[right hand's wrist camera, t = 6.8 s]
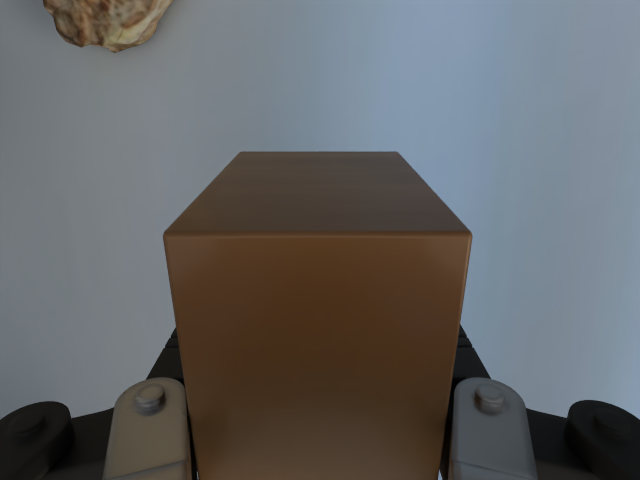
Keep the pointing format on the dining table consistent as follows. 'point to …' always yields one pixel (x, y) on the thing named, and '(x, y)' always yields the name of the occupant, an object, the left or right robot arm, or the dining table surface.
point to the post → (317, 317)
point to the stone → (106, 21)
